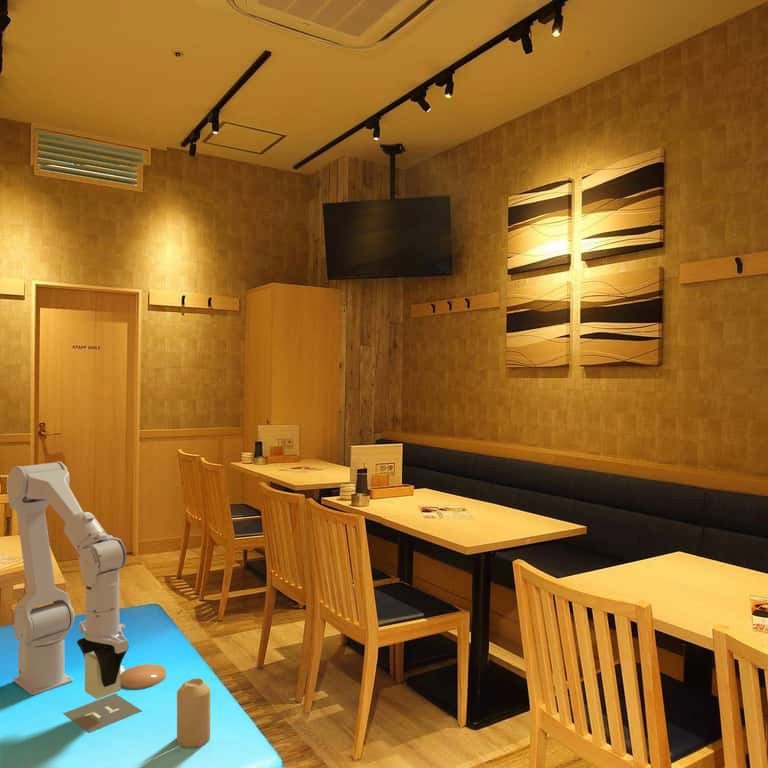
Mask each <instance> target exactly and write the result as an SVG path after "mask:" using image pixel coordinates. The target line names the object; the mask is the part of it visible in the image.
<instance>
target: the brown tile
mask: <svg viewBox="0 0 768 768" xmlns="http://www.w3.org/2000/svg"><path fill="white" fill-rule="evenodd" d="M141 712H143V710H142V709H140V708H139V707H137V706H135V704H133V703H131V702H129V701H128V700H126V699H125V698H123V697H122V696H121V695H119V694H117V693H112V694H110V695H107V696H104V697H102V698H99V699H96V700H94V701H92V702H89V703H87V704H84V705H82V706H78V707H76V708H73V709H70V710H68V711H65V712H63V713H62V714H63V715H65V716H66V717H67V718H68V719H70V720H71V721H73V722H74V723H75V724H77V726H79V727H80V728H82V729H83V730H84V731H86V733H88V734H91V733H93V732H95V731H98V730H101V729H102V728H105V727H107V726H110V725H112V724H115V723H117V722H119V721H121V720H124V719H126V718H129V717H131V716H133V715H136V714H139V713H141Z"/></svg>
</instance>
